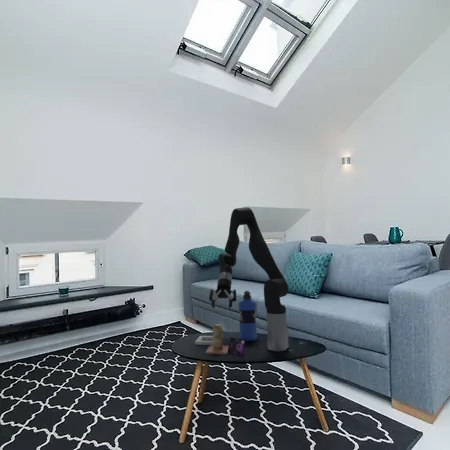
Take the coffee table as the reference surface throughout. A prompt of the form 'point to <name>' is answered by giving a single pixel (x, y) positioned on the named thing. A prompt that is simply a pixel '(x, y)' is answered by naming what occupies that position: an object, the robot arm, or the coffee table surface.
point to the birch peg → (217, 337)
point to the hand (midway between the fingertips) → (221, 307)
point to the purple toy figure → (239, 346)
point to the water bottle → (247, 318)
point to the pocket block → (200, 342)
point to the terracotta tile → (212, 351)
